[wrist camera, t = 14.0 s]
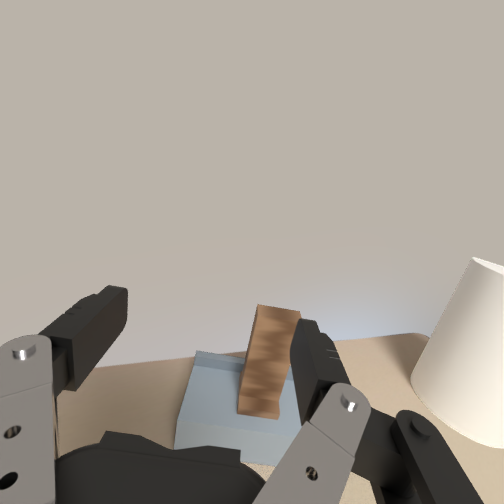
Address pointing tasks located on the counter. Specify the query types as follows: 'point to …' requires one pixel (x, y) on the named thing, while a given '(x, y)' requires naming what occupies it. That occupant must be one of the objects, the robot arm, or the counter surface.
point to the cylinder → (468, 358)
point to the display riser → (233, 413)
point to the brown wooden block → (266, 362)
